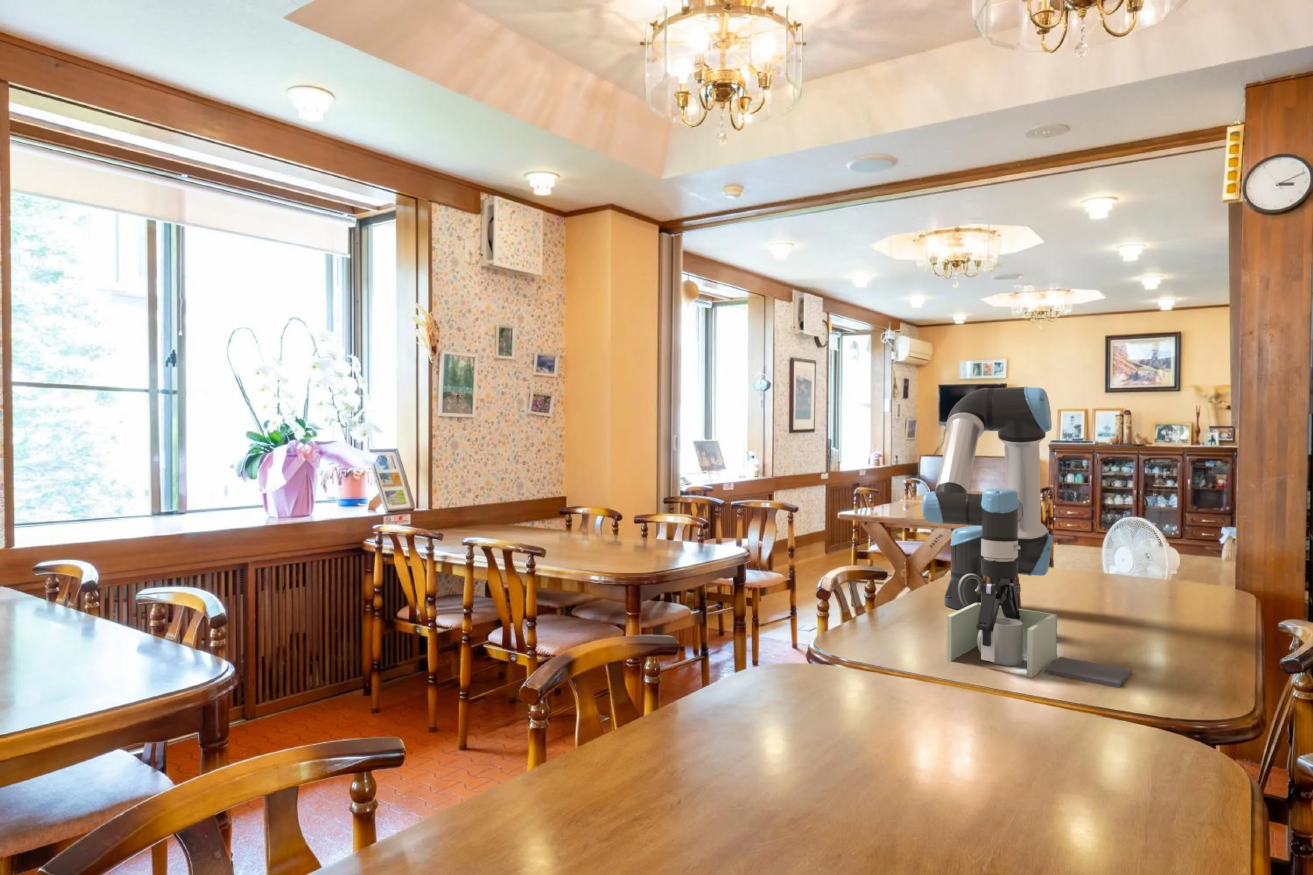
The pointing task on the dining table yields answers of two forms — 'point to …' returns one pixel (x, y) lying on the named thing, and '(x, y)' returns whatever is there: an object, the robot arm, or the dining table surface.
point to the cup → (1007, 642)
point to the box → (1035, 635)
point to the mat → (1088, 671)
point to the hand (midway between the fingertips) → (998, 653)
